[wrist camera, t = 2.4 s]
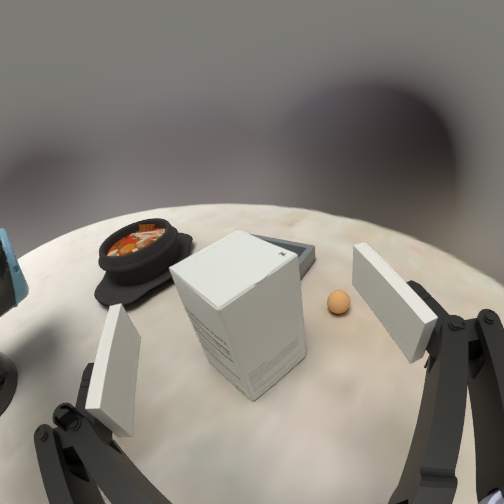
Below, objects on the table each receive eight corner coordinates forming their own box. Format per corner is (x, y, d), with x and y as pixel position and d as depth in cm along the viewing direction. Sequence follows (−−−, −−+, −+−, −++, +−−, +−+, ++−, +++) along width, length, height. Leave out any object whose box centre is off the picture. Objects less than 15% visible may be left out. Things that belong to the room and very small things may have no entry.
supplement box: (258, 322, 39) (238, 226, 31) (307, 356, 32) (301, 252, 25) (206, 360, 34) (165, 265, 26) (251, 404, 28) (217, 308, 20)
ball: (323, 314, 38) (323, 297, 36) (332, 300, 40) (332, 283, 38) (345, 321, 36) (346, 303, 34) (352, 305, 38) (354, 288, 36)
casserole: (150, 238, 68) (140, 208, 64) (214, 241, 61) (205, 206, 56) (82, 303, 49) (63, 268, 45) (144, 324, 42) (123, 282, 37)
